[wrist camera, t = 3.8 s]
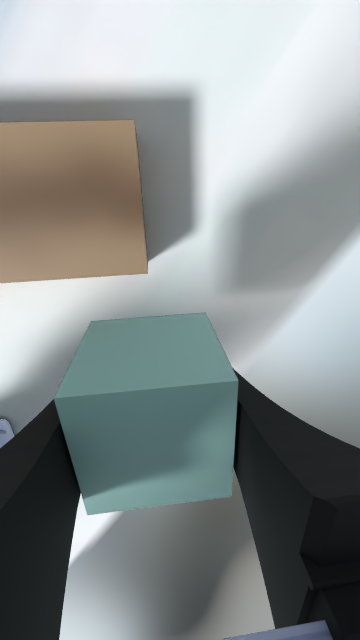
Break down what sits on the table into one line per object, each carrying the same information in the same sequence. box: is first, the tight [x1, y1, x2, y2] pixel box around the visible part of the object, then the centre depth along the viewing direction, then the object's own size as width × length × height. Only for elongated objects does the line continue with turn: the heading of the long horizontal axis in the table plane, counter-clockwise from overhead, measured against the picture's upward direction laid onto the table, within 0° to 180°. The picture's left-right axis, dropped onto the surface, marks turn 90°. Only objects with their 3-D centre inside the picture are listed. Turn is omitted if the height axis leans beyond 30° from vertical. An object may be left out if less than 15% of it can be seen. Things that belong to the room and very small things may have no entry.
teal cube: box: [54, 313, 238, 515], centre depth 11 cm, size 5×5×5 cm
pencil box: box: [0, 120, 148, 283], centre depth 14 cm, size 7×14×3 cm, turn 92°
